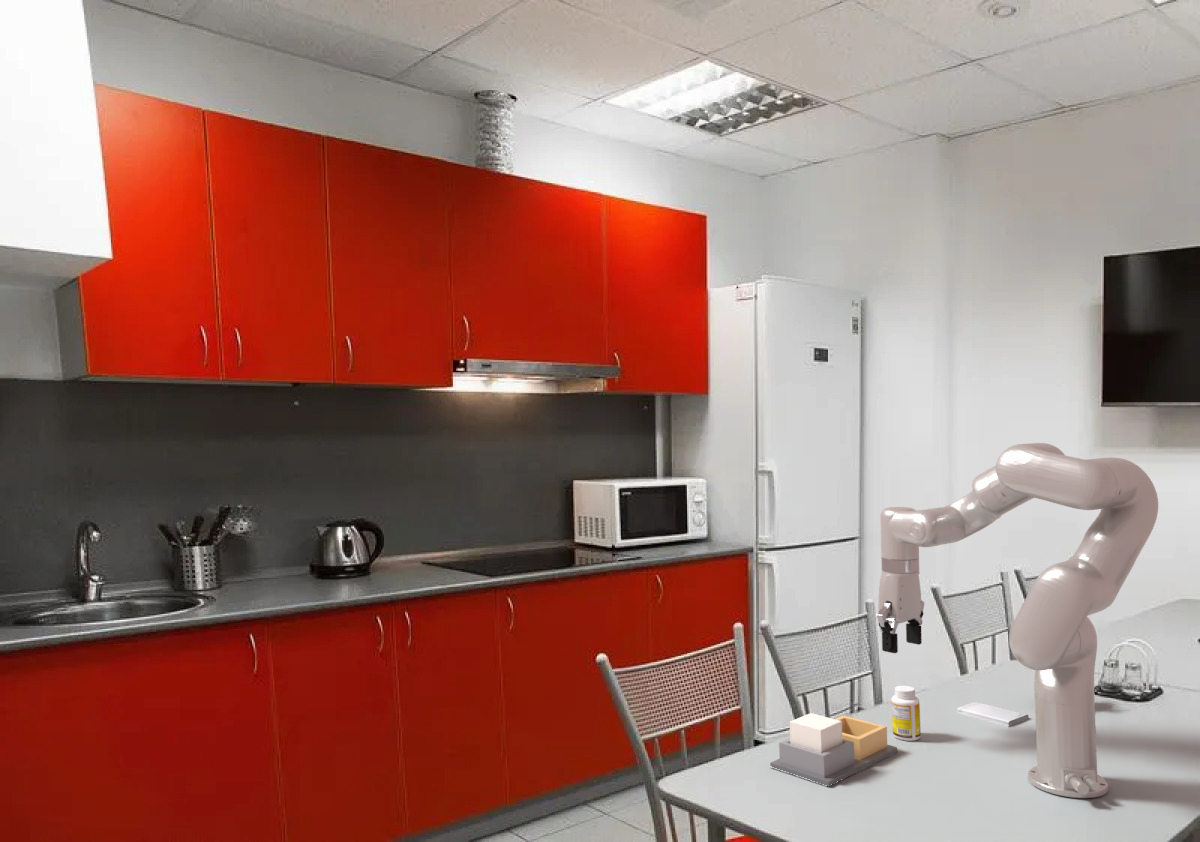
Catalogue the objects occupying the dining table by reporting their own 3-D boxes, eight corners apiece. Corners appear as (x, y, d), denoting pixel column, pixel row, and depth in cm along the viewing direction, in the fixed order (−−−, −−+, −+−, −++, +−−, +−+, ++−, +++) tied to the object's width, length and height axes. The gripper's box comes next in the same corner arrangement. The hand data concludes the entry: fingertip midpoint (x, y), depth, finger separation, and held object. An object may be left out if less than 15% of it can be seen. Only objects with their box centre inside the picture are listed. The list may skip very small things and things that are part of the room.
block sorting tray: (840, 736, 182) (839, 693, 182) (897, 752, 172) (895, 707, 172) (770, 768, 166) (768, 721, 166) (828, 787, 156) (826, 737, 156)
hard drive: (1028, 714, 189) (976, 700, 199) (1008, 721, 185) (955, 707, 195) (1028, 721, 189) (976, 707, 199) (1008, 729, 185) (955, 715, 195)
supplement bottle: (913, 731, 183) (911, 683, 183) (925, 741, 178) (923, 691, 178) (888, 733, 183) (886, 685, 183) (899, 742, 177) (898, 692, 177)
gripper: (904, 559, 189) (906, 637, 189) (862, 569, 178) (863, 652, 178) (937, 563, 184) (939, 643, 184) (895, 573, 172) (897, 659, 172)
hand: (902, 647), depth 181 cm, fingers open, 9 cm apart
